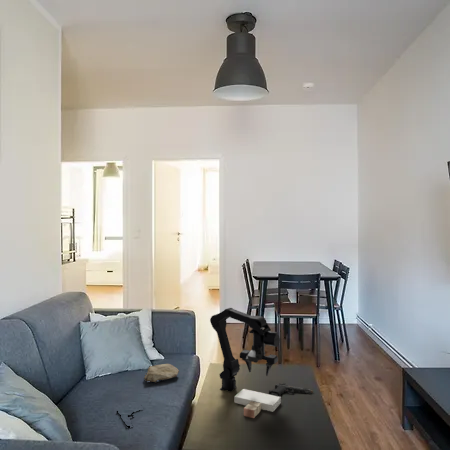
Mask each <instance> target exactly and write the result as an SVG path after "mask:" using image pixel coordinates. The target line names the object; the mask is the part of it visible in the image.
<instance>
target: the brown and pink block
mask: <svg viewBox="0 0 450 450" xmlns="http://www.w3.org/2000/svg"><path fill="white" fill-rule="evenodd" d="M261 411H262V409H261V403H257V402H252V401H251V402H250V403H249V404H248V405H247V406H246V405H245V406H244V407H243V417H247V418H251V419H255V417H256V416H257V415H259V414H260V412H261Z"/></svg>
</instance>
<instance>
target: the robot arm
mask: <svg viewBox="0 0 450 450" xmlns="http://www.w3.org/2000/svg"><path fill="white" fill-rule="evenodd" d="M229 318H230V319H233V320H236V321H239V322H241V323H244V324H246V325H248V327H249V328H251V330H249V332H248V333H249V334H252V335H253V336H252V345H251V350H247V349H244V350H242V351H241V352H240V353H239V358H240V359H241V360H242V361H244V362H245V365H246V366H247V369H248V372H249V373H251V372H252V363H258V361H262V360H263V361H265V362H266V363H265V365H266V371H265V375H266V377H268V376H269V374H270V371H271V368H272V366H273V365H275V364H276V363H278V362H279V357H278V355H276V354H269V355H266V351H265V347H266V346H271V347H275V348H276V347H278V346H279V345H280V341H281V338H280V335H279V334H278V332H277V331H271V328H270V326H269V324H268V322H267V320H266V318H265V317H264V316H262V315H261V316H260V315H251V314H248V313H244V312H242V311H239V310H237V309H235V308H233V307H228V308H225V309H224V310H222V311H221V312H219V313H217V314H213V315H211V316H210V318H209V319H210V320H209V322H210V325H211V327H212V328H213V330H214V331H215V332H216V335H217V338H218V342H219V346H220V350H221V353H222V357H223V362H222V363H223V364H222V368H223V370H222V372H220V373H219V378H220V379H221V387H220V389H219V390H222V391H227V392H231V393H232V392H233V391H234V390H235V389H237V380H236V376H237V375H238V373H239V372H240V371H241V369H240V367H241V365H240V362H239V359H238V358H235V357H234V354H233V351H232V348H231V343H230V340H229V338H228V337H229V336H228V333H227V330H226V328H227V324H228V323H227V319H229Z"/></svg>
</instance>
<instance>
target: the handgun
mask: <svg viewBox="0 0 450 450" xmlns="http://www.w3.org/2000/svg"><path fill="white" fill-rule="evenodd" d="M284 393H287V394H294V393H298V394H314V390H312V389H310V388H306V387H299V386H292V385H287V384H286V383H285V382H283V383H276V384H275V385H274V389H272V390H268V394H269V395H274V396H278V397H281V395H282V394H284Z"/></svg>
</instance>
